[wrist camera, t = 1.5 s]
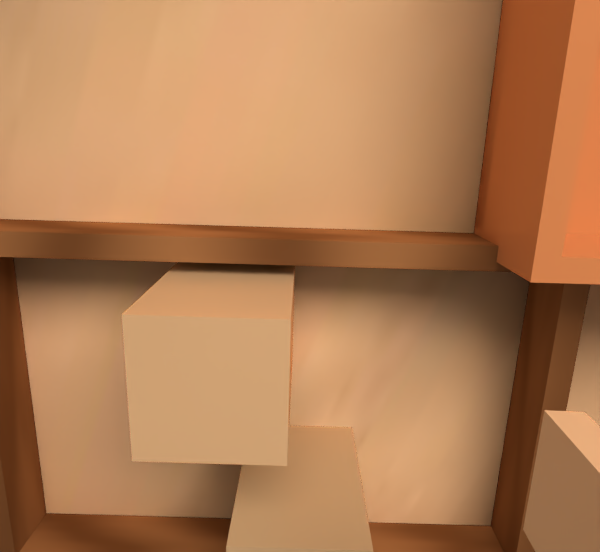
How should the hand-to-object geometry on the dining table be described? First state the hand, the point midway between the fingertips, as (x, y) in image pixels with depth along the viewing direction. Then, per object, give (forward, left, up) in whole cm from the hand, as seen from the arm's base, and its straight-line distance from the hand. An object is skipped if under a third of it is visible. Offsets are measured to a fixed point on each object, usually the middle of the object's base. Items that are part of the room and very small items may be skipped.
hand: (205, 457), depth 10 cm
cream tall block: (0, 0, -9) cm, 8 cm away
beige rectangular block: (+2, -7, -8) cm, 11 cm away
